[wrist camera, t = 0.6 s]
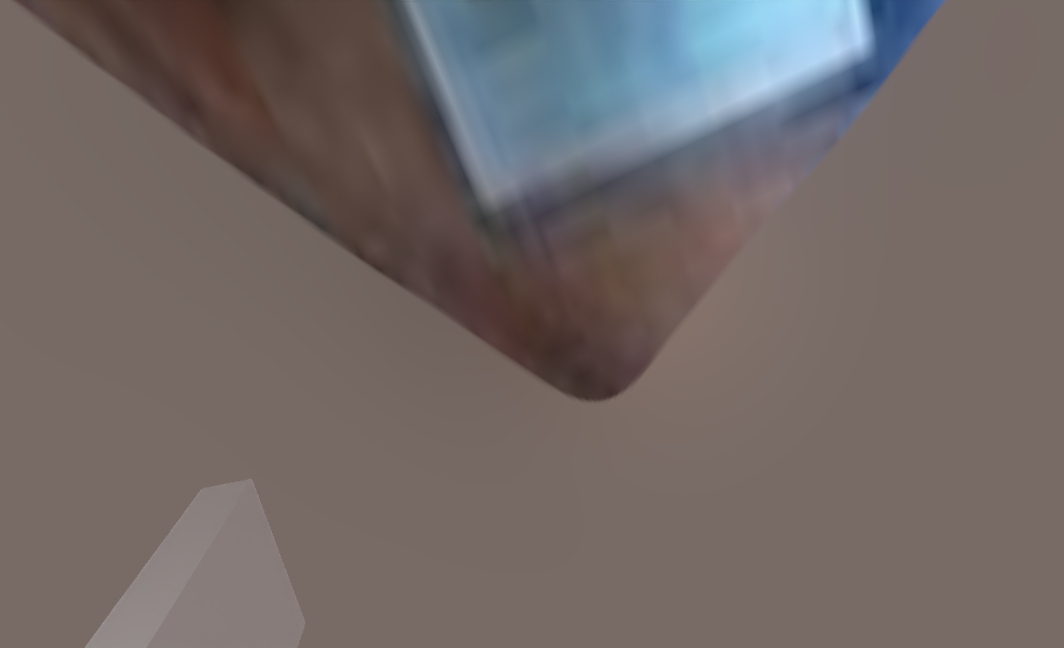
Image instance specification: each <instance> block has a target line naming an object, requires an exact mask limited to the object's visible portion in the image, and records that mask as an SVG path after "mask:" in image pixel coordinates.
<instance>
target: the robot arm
mask: <svg viewBox="0 0 1064 648" xmlns="http://www.w3.org/2000/svg"><path fill="white" fill-rule="evenodd" d="M305 625H306V623H305V620H304V617H303V614H302V612H301V609H300V607H299V604H298V601H297V598H296V596H295V593H294V590H293V588H292V585H291V583H290V580H289V577H288V575H287V572H286V569H285V566H284V564H283V561H282V558H281V556H280V553H279V550H278V548H277V545H276V542H275V539H274V537H273V534H272V531H271V529H270V526H269V523H268V521H267V518H266V515H265V513H264V510H263V507H262V505H261V502H260V499H259V497H258V494H257V492H256V489H255V486H254V484H253V481H252V479H247V480H242V481H238V482H232V483H228V484H222V485H217V486H212V487H207V488H202V489H201V490H200V491H199V493H198V494H197V496H196V497H195V498H194V500H193V501H192V502H191V504H190V505H189V506H188V508H187V509H186V511H185V512H184V513H183V515H182V516H181V517H180V519H179V520H178V521H177V523H176V524H175V525H174V527H173V528H172V530H171V531H170V532H169V534H168V535H167V537H166V538H165V539H164V540H163V542H162V543H161V545H160V546H159V547H158V549H157V550H156V552H155V553H154V554H153V555H152V557H151V558H150V560H149V561H148V562H147V564H146V565H145V566H144V568H143V569H142V571H141V572H140V573H139V574H138V576H137V577H136V579H135V580H134V581H133V583H132V584H131V586H130V587H129V588H128V590H127V591H126V592H125V593H124V595H123V597H122V598H121V599H120V600H119V602H118V603H117V604H116V606H115V607H114V608H113V610H112V611H111V613H110V614H109V615H108V617H107V618H106V619H105V621H104V622H103V624H102V625H101V626H100V628H99V629H98V630H97V632H96V633H95V634H94V636H93V637H92V638H91V640H90V641H89V642H88V644H87V645H86V647H85V648H298V645H299V642H300V639H301V636H302V634H303V631H304V628H305Z"/></svg>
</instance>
